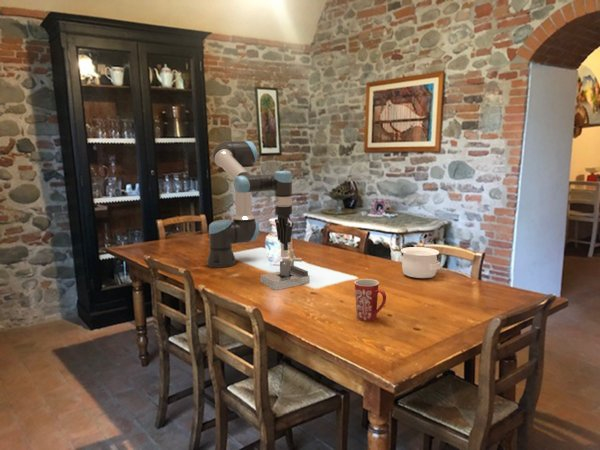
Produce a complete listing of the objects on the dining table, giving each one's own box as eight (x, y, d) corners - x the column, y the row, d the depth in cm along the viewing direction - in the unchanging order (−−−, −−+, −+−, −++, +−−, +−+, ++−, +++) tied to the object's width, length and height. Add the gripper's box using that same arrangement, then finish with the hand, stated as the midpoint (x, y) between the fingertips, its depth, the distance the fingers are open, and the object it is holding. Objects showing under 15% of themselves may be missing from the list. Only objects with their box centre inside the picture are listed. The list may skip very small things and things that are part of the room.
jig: (260, 282, 218) (260, 270, 217) (293, 276, 227) (293, 265, 226) (275, 290, 206) (275, 277, 205) (309, 283, 216) (309, 271, 215)
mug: (348, 317, 173) (349, 282, 171) (364, 311, 179) (364, 277, 177) (376, 326, 164) (376, 289, 162) (391, 319, 170) (392, 284, 168)
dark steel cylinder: (278, 282, 217) (277, 261, 215) (287, 280, 220) (286, 260, 218) (283, 285, 213) (283, 263, 211) (292, 283, 216) (292, 262, 214)
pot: (449, 277, 223) (450, 252, 221) (429, 284, 212) (430, 258, 209) (410, 268, 239) (411, 244, 237) (389, 274, 228) (390, 250, 226)
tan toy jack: (299, 272, 234) (299, 252, 232) (280, 271, 236) (280, 252, 234) (303, 267, 243) (303, 248, 242) (285, 266, 245) (284, 247, 244)
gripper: (269, 204, 214) (270, 255, 218) (283, 207, 203) (284, 260, 207) (283, 203, 218) (284, 252, 222) (298, 206, 207) (299, 258, 211)
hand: (284, 256), depth 215 cm, fingers closed
